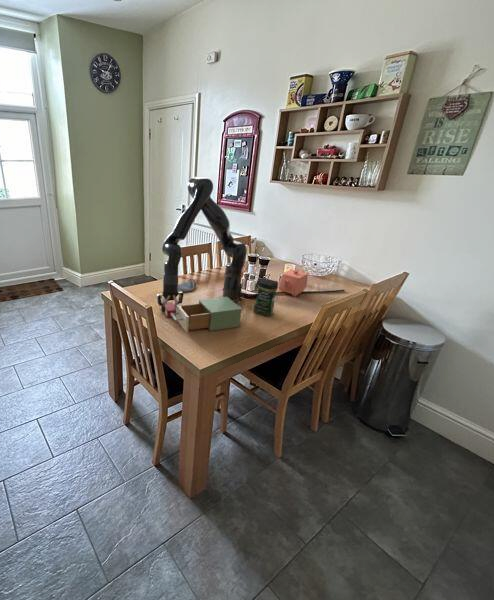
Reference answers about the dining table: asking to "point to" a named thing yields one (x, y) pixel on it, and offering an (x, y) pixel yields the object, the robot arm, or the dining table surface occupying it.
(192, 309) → the drawer
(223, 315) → the cabinet
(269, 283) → the coffee jar
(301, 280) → the pink knobbed cube
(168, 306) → the red rectangular block
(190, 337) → the dining table surface
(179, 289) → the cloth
